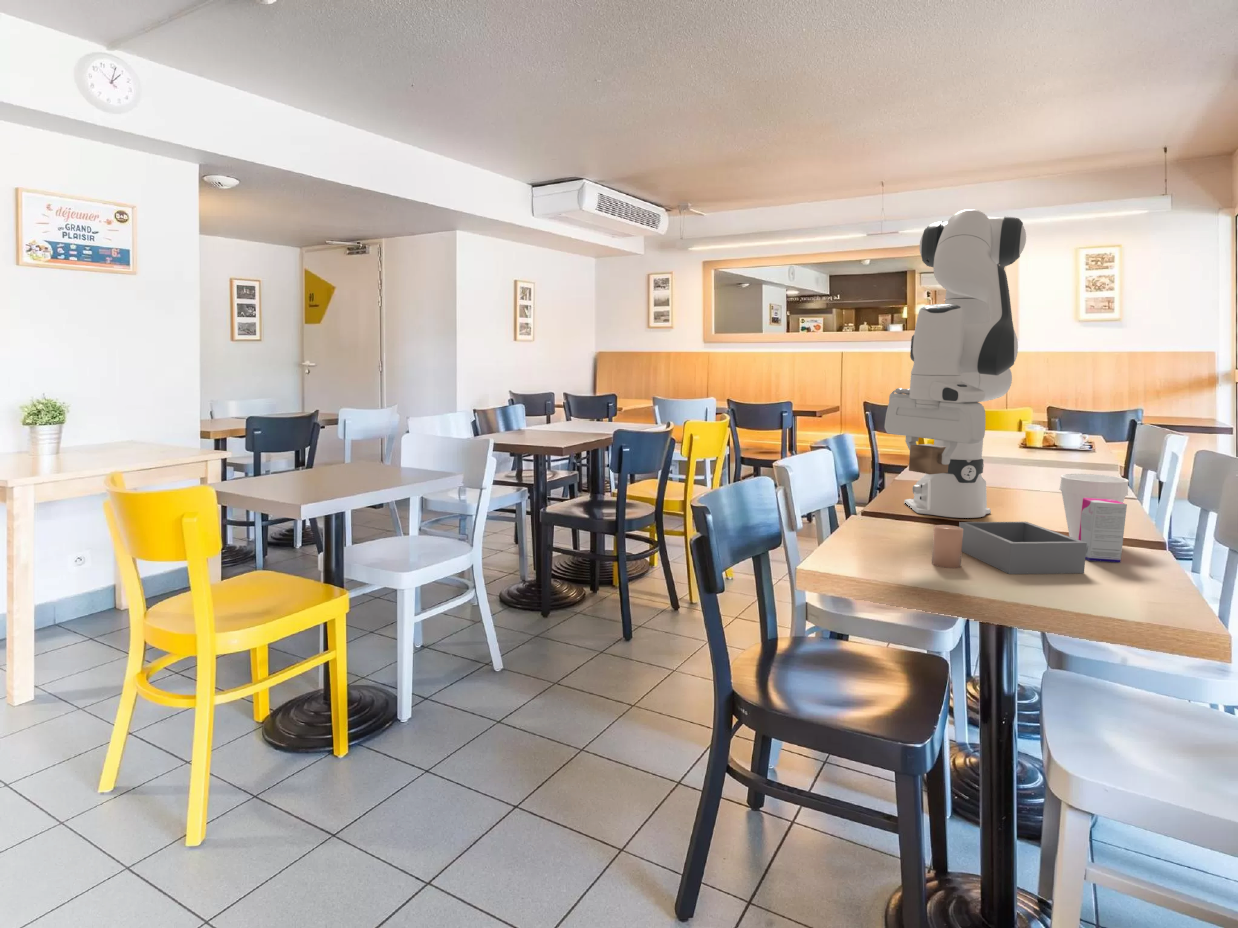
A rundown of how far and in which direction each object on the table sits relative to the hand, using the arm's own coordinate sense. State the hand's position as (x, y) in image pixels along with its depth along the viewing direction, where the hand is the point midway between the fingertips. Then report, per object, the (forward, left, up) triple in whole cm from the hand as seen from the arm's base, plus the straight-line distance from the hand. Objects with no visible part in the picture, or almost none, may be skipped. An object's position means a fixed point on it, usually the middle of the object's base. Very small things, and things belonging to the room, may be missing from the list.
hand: (929, 461), depth 143 cm
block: (0, 0, -2) cm, 2 cm away
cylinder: (+7, +1, -19) cm, 20 cm away
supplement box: (+4, +33, -19) cm, 38 cm away
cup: (-10, +41, -19) cm, 46 cm away
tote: (+5, +16, -18) cm, 25 cm away
